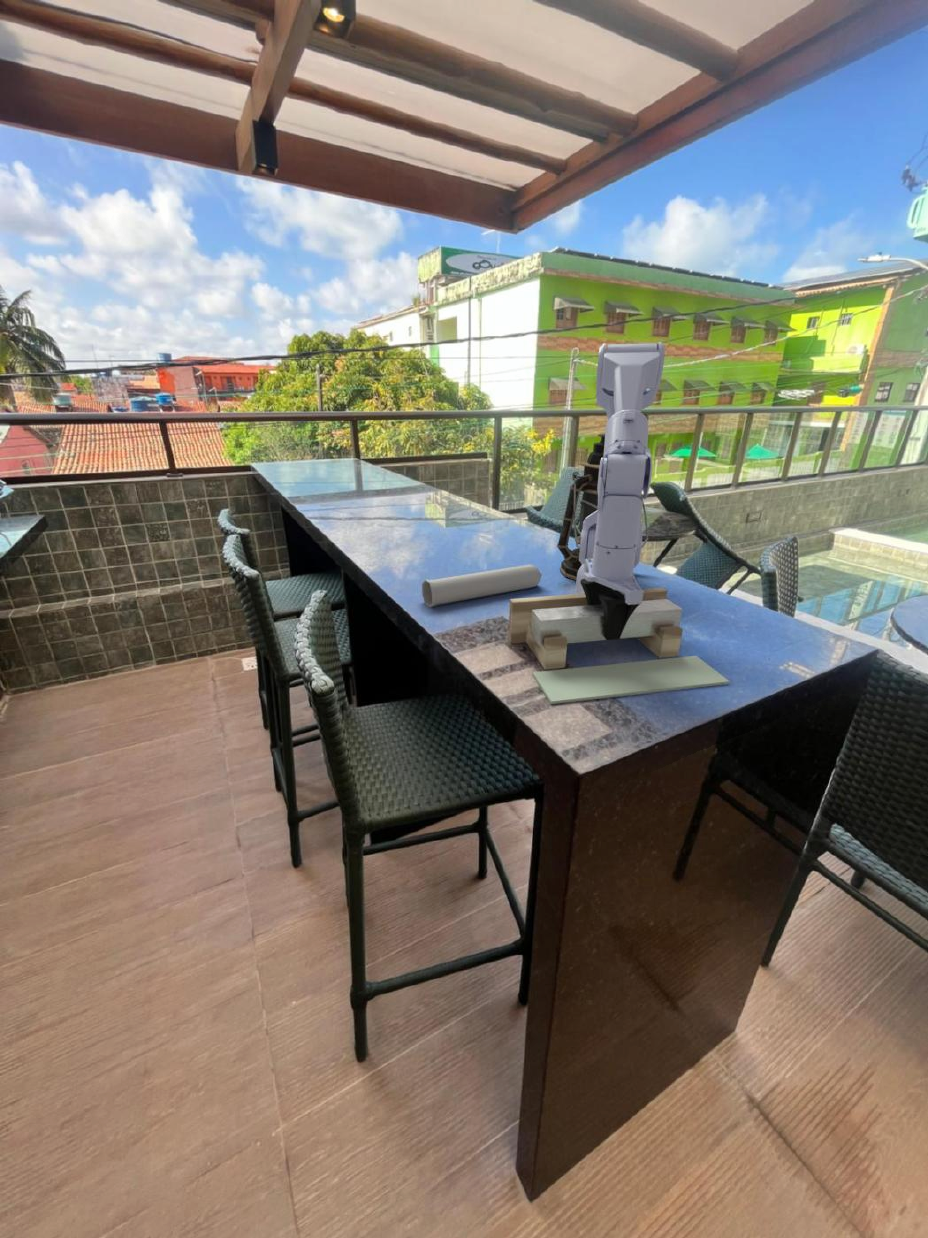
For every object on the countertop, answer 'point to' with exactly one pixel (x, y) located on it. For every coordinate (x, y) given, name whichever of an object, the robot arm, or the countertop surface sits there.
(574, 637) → the rail
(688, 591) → the countertop surface
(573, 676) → the mat
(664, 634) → the rail stand
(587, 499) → the lantern
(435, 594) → the tube
